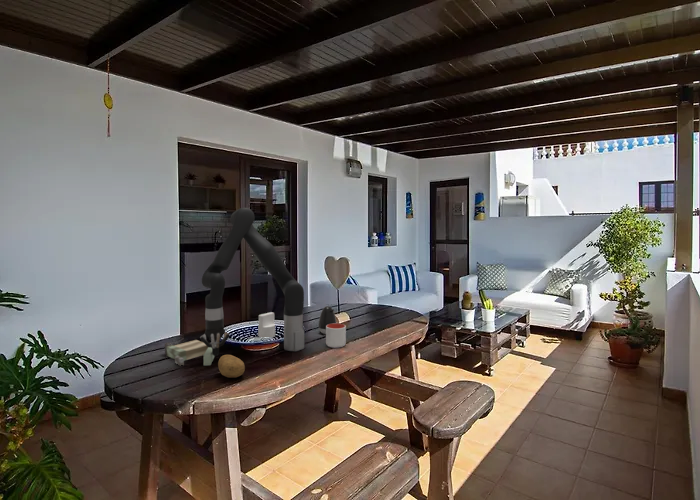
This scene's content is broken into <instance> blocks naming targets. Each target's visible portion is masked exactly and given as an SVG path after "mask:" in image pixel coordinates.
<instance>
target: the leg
mask: <svg viewBox="0 0 700 500" xmlns="http://www.w3.org/2000/svg"><path fill="white" fill-rule="evenodd" d="M214 342H215V347H216V341H214ZM209 343H210V344H212V342H209ZM202 356H203V366H211V365H212V362H213V361H214V359H215V357H216V356H214V355H213V354H212V348H211V347H210V348H209V347H208V349H207V350H206V352H205V354H204V355H202Z"/></svg>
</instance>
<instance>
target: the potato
mask: <svg viewBox="0 0 700 500" xmlns="http://www.w3.org/2000/svg"><path fill="white" fill-rule="evenodd" d="M217 366H218V367H217V368H218V370H219V373H220V374H221V375H222V376H224V377H225V378H228V379H229V378H234V379H235V378H236V379H237V378H239V377H240V376H242V375H243V374H244V372H245V369H246V366H245V363H244V361H243V360H241V359H240V358H238V357H236V356H234V355H232V354H224V355H222V356H220V358H219V360H218V362H217Z"/></svg>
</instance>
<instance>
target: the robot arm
mask: <svg viewBox="0 0 700 500" xmlns="http://www.w3.org/2000/svg"><path fill="white" fill-rule="evenodd" d="M255 217H256V216H255V213H254V211H253V210H252V209H250V208H249V207H241V208H238V209H237V210H235V211H233V212H232V214H231V215H230V223H231V226H232V228H231V229H230V232H229V233H228V236H227V237H226V238H225V240H224V241H223V242H222V244H221V246H220V248H219V249H218V251H217V253H216V254H215V257H214V260H213V261H212V263H210V264H209V266H208V267H207V268H206V270H205V271H204V273H203V274H202V275H201V284H202V286H203V287H205V288H208V289H210V291H209V293H208V294H207V295H206V296H205V298H204V299H205V301H204V302H205V311H204V312H205V313H204V315H205V316H204V318H205V319H204V320H205V330H204V334H202V335H200V337H199V338H200V340H201V342H204V343H205V344H206V345H207V346H208V347H209V348H210V347H211V348H212V354H213V355H214V356H215V357H218V356H219V354H220V347H222V346H224V345H225V344H226V342H227V340H228V339H229V338H230V336H231V334H230V333H229V332H226V329H225V328H224V327H225V326H224V325H225V323H224V321H225V320H224V316H225V315H224V309H223V308H224V306H223V296H224V292H225V287H226V278H225V277H224V275H223V274H222V272H224V271H226V270H229V269H228V268H229V267H230V265H231V264H232V261H233V259H234V257H235V254H236V253H237V250H238V248H239V246H240V245H241V243H242V240H243V239H244V240H245V242H246V243H247V245H248V247H250V249H251V251H252V252H253V253H254V254H255V257H256V259H258V261H259V262H260V263H261V264H262V266H263V267H264V269H265V270H266V271H267V272H268V273H269V274H270V275H271V276H272V277H273V278H274V279H275V280H276V281H275V282H277V284H278V286H279V288H280V289H281V291H282V292H283V295H284V308H283V349H284V350H285V351H289V352H299V351H300V350H303V349H305V329H304V322H303V321H304V314H303V313H304V307H305V306H304V305H305V303H304V302H305V290H304V288H303V285H302V284H300V282H298V281H297V280H296V279H295V278H294V276H293V275H292V274H291V273H290V271H289V270H288V268H287V267H286V265H285V262H284V261H283V259H282V257H281V256H280V254H279V252H278V251H277V249H276V248H275V247H274V245H273V244H272V243H271V242H270V241H269V240H267V239H266V238H265V237H264V236H263V235H262V234H260V233H259V231H258V230H256V229H257V228H256V227H255V225H254V222H255ZM207 339H208V340H207ZM209 340H210V341H211V342H212V344H210V343H211V342H209ZM220 340H221V341H220ZM215 342H216V347H215Z"/></svg>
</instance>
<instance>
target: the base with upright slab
mask: <svg viewBox="0 0 700 500" xmlns="http://www.w3.org/2000/svg"><path fill="white" fill-rule="evenodd" d="M257 326H258V328H257V329H258V331H257V333H258V335H257V336H259V337H258V338H260V337H272V338H274V337H276V324H275V312H272V311H270V312H267V313H266V312H265V313H261V314H259V315H258V325H257ZM273 336H274V337H273Z"/></svg>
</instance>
